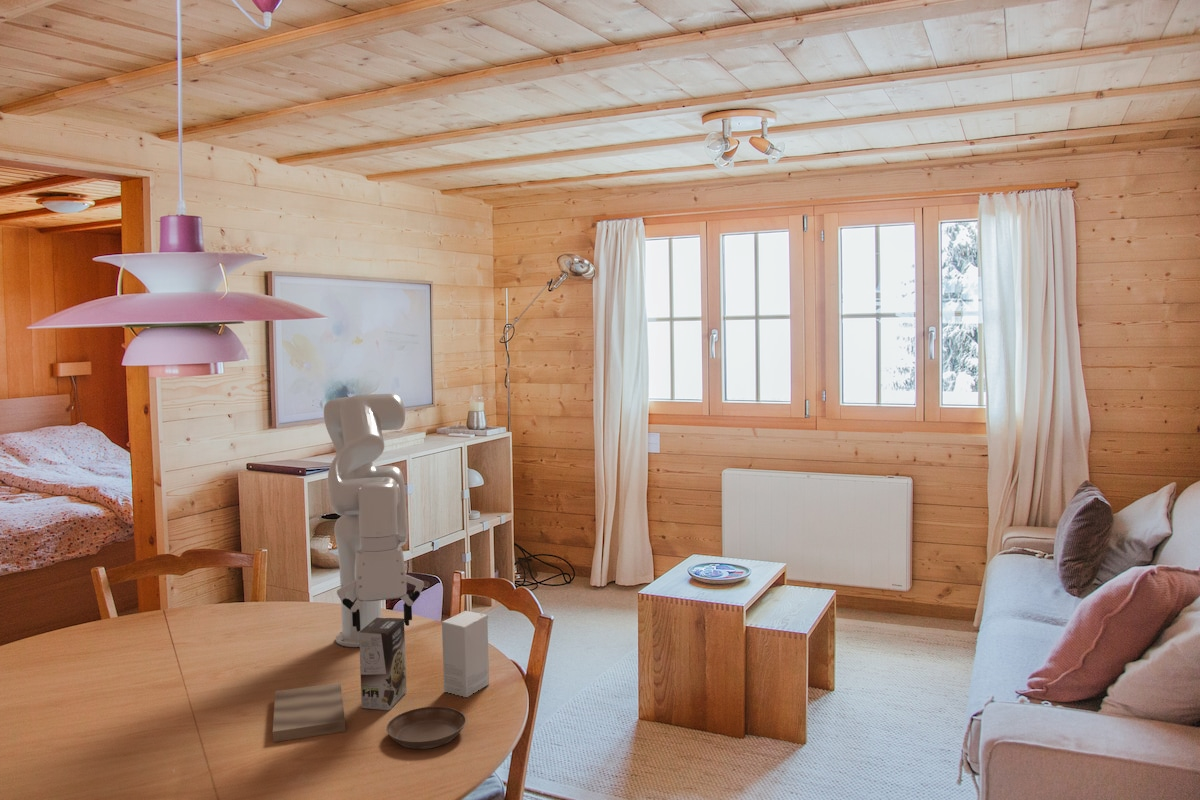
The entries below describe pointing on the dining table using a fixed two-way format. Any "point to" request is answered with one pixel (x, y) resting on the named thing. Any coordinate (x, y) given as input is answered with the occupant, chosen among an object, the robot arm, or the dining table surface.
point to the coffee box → (382, 663)
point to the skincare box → (465, 653)
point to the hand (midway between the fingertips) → (382, 626)
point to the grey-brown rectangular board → (308, 712)
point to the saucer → (426, 727)
